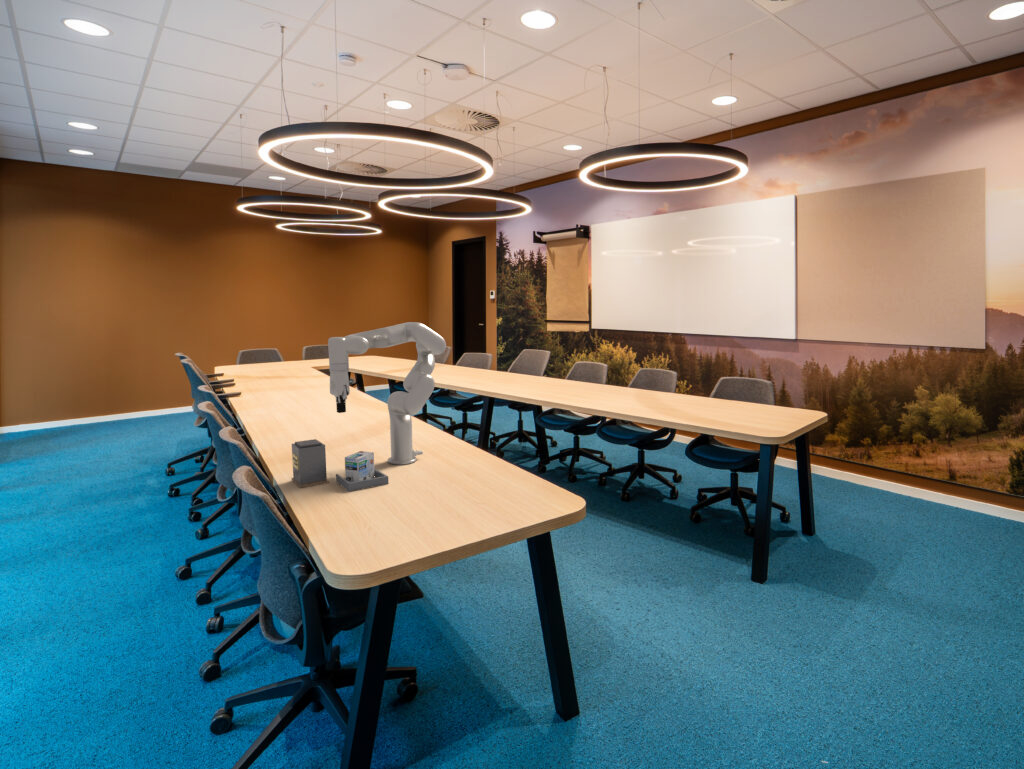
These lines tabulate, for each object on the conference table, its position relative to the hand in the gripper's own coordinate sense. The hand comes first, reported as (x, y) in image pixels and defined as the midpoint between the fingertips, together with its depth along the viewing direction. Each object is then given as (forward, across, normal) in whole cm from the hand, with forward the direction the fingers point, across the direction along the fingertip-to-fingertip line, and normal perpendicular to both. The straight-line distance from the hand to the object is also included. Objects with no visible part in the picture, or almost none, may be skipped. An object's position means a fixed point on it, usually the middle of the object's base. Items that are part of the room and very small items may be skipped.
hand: (341, 412), depth 220 cm
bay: (+26, +16, +1) cm, 30 cm away
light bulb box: (+26, +14, +1) cm, 29 cm away
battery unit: (+26, +2, -15) cm, 30 cm away
